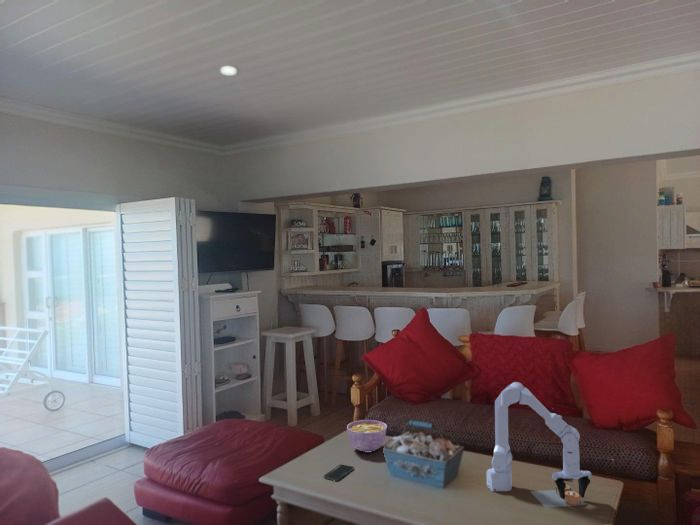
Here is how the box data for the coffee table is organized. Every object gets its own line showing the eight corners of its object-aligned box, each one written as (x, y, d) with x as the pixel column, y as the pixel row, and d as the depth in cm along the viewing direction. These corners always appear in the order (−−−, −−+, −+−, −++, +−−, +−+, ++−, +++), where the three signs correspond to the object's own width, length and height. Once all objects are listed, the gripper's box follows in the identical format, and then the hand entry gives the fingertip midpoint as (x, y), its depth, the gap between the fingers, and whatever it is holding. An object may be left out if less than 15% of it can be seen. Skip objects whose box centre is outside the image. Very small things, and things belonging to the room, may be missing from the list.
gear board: (545, 511, 191) (545, 499, 191) (530, 495, 204) (529, 484, 204) (586, 508, 192) (586, 496, 192) (568, 492, 205) (568, 481, 205)
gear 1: (560, 497, 198) (560, 487, 198) (553, 490, 204) (553, 481, 204) (573, 496, 199) (573, 486, 199) (566, 489, 204) (566, 480, 204)
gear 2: (568, 505, 192) (568, 497, 192) (561, 498, 198) (561, 491, 198) (583, 504, 193) (582, 496, 193) (575, 497, 198) (575, 490, 198)
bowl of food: (395, 447, 258) (394, 424, 258) (372, 460, 243) (371, 436, 242) (363, 439, 271) (362, 417, 271) (339, 451, 255) (338, 428, 255)
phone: (322, 476, 225) (340, 464, 238) (322, 479, 225) (340, 466, 238) (338, 480, 221) (355, 467, 234) (338, 482, 221) (355, 469, 234)
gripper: (558, 466, 190) (558, 503, 191) (595, 464, 192) (596, 500, 192) (548, 459, 197) (549, 494, 198) (585, 457, 199) (585, 492, 199)
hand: (571, 497), depth 195 cm, fingers open, 7 cm apart
